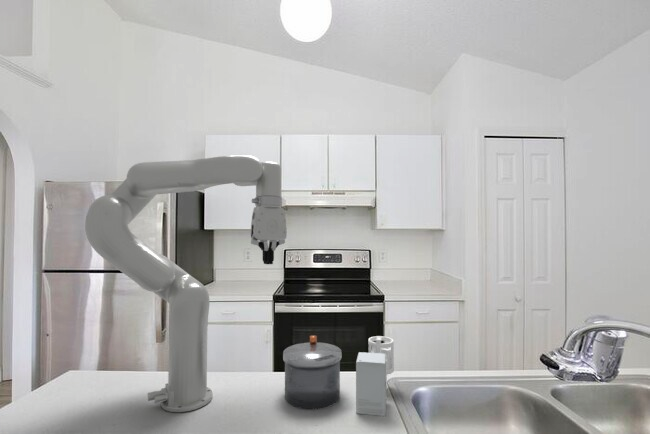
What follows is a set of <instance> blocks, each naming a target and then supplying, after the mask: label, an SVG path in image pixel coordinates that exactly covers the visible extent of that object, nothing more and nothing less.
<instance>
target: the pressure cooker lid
mask: <svg viewBox="0 0 650 434" xmlns="http://www.w3.org/2000/svg"><path fill="white" fill-rule="evenodd" d="M317 338H318V337H317V335H313V334H312V335H309V342H300V343H296V344H293V345H290V346H288V347H286V348H285V349H284V350H283V352H282V360H283V362H284V364H285V363H287V364H289V365H291V366H294V367H299V368H322V367H327V366H331V365H334V364H336V363H338V362H339V361H340V362H341V360H342V354H343V353H342V349H341V348H340V347H338V346H337V345H335V344H330V343H326V342H318V340H317Z"/></svg>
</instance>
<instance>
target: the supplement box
mask: <svg viewBox="0 0 650 434" xmlns="http://www.w3.org/2000/svg"><path fill="white" fill-rule="evenodd" d="M355 361H356V362H355V376H356V377H355V379H356V380H355V400H356V401H355V413H356V414H360V415H369V416H378V417H379V416H380V417H386V416H387V415H386V412H387V411H386V408H387V406H386V405H387V391H386V354H382V353H369V352H364V351H363V352H360V351H359V352H358V354H357V357H356V360H355Z"/></svg>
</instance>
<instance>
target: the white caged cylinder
mask: <svg viewBox="0 0 650 434" xmlns="http://www.w3.org/2000/svg"><path fill="white" fill-rule="evenodd" d="M382 341H384V342H385V343H382ZM367 342H368V353H382V354H386V392H387V391H388V384H387V381H388V379H387V378H388V375H391V374H392V373H393V374H394V370H395V367H394V366H395V365H394V364H395V363H394V360H395V357H394V349H395V348H394V339H393V338H392V337H388V336H382V335H376V336H371V337H369V338H368V341H367Z"/></svg>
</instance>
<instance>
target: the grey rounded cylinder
mask: <svg viewBox="0 0 650 434" xmlns="http://www.w3.org/2000/svg"><path fill="white" fill-rule="evenodd" d="M340 363H341V360H340V361H339V362H338V363H336V364H334V365H331V366H327V367H322V368H299V367H294V366H291V365H289V364H287V363H285V362H284V400H285V401H286V403H288V405H290V406H292V407H294V408H297V409H301V410H313V411H314V410H322V409H326V408H328V407H331V406H333V405H334V404H336V403H337V402H339V400H340V397H341V382H340V381H341V373H340V372H341V371H340V368H341V364H340Z"/></svg>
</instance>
